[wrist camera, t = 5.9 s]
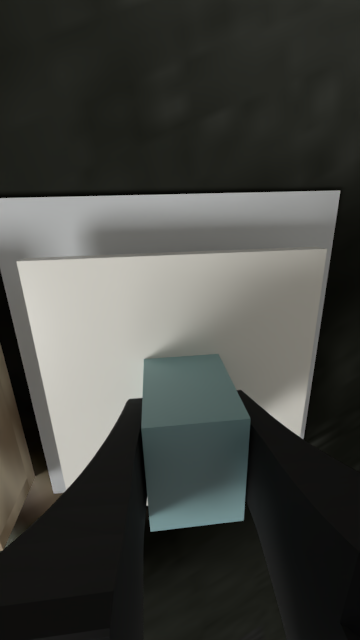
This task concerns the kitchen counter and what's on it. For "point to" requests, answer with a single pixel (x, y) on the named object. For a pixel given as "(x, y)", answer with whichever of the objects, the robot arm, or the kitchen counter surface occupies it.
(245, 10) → the kitchen counter surface
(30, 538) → the robot arm
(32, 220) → the mat
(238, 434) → the lid
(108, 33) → the kitchen counter surface
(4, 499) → the box
